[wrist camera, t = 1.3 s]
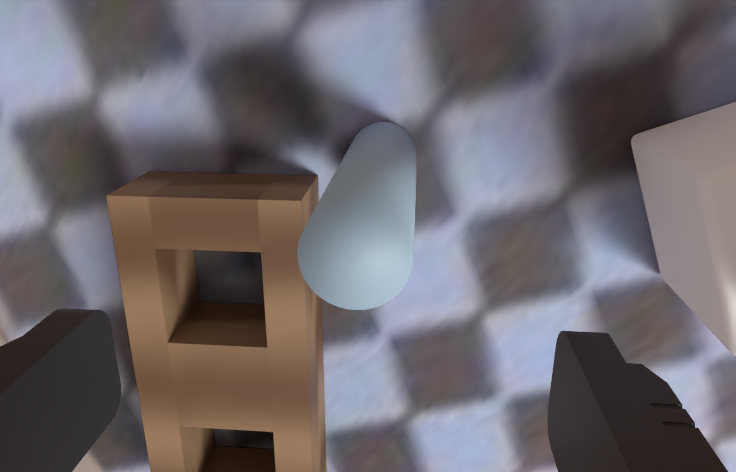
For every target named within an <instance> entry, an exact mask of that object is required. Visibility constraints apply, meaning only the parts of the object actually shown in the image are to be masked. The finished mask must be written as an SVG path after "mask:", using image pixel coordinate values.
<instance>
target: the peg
mask: <svg viewBox="0 0 736 472" xmlns="http://www.w3.org/2000/svg"><path fill="white" fill-rule="evenodd" d="M416 168H417V150H416V146H415V143H414V140H413V139H412V137H411V135H410V134H409V133H408V132H407V131H406V130H405V129H404V128H402V127H401V126H399V125H397V124H394V123H391V122H375V123H372V124H370V125H367V126H366V127H364V128H363V129H362V130H360V131H359V133H358V134H357V135H356V136H355V138H354V140H353V142H352V143H351V145H350V147H349V149H348V150H347V152H346V154H345V156H344V158H343V159H342V161H341V163H340V165H339V167H338V168H337V170H336V172H335V174H334V176H333V177H332V179H331V181H330V183H329V185H328V186H327V188H326V190H325V192H324V194H323V195H322V197H321V199H320V201H319V203H318V204H317V206H316V208H315V210H314V211H313V213H312V215H311V217H310V219H309V220H308V222H307V224H306V226H305V228H304V230H303V232H302V234H301V236H300V239H299V243H298V249H297V258H298V264H299V268H300V271H301V274H302V276H303V278H304V280H305V281H306V283H307V284H308V286H309V287H310V288H311V289H312V290H313V291H314V293H315V294H317V295H318V296H319V297H320V298H322V299H323V300H325V301H326V302H328V303H330V304H333V305H335V306H338V307H341V308H345V309H352V310H364V309H371V308H374V307H378V306H380V305H383V304H385V303H387V302H388V301H390V300H391V299H393V298H394V297H395V296H397V295H398V294H399V293H400V292H401V290H402V289H403V288H404V287H405V285H406V283H407V282H408V280H409V277H410V275H411V272H412V268H413V258H414V228H415V198H416Z"/></svg>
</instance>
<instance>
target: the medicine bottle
mask: <svg viewBox="0 0 736 472" xmlns="http://www.w3.org/2000/svg"><path fill="white" fill-rule="evenodd" d="M631 146H632V151H633V155H634V160H635V164H636V168H637V173H638V177H639V182H640V186H641V190H642V195H643V199H644V204H645V208H646V213H647V217H648V221H649V226H650V230H651V235H652V239H653V243H654V248H655V252H656V257H657V261H658V265H659V270H660V274H661V277H662V278H663V280H664V281H665V282H666V283H667V284H668V285H669V286H670V287H671V288H672V289H673V290H674V292H675V293H676V294H677V295H678V296H679V297H680V298H681V299H682V300H683V301H684V302H685V303H686V305H687V306H688V307H689V308H690V309H691V310H692V311H693V312H694V313H695V314H696V315H697V316H698V318H699V319H700V320H701V321H702V322H703V323H704V324H705V325H706V326H707V327H708V328H709V329H710V331H711V332H712V333H713V334H714V335H715V336H716V337H717V338H718V339H719V340H720V341H721V342H722V344H723V345H724V346H725V347H726V348H727V349H728V350H729V351H730V352H731V353H732V354H734V355H736V102H733V103H730V104H727V105H724V106H721V107H718V108H715V109H712V110H709V111H706V112H703V113H700V114H696V115H693V116H690V117H687V118H684V119H681V120H678V121H675V122H672V123H669V124H666V125H662V126H659V127H656V128H653V129H650V130H647V131H644V132H641V133H638V134H636V135H634V136H633V137H632V139H631Z"/></svg>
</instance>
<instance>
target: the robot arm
mask: <svg viewBox="0 0 736 472" xmlns="http://www.w3.org/2000/svg"><path fill="white" fill-rule="evenodd" d="M120 396H121V383H120V377H119V371H118V365H117V359H116V353H115V347H114V341H113V335H112V329H111V324H110V320H109V318H108V316H107V314H106V313H105V312H103V311H101V310H84V309H58V310H56V311H54V312H53V313H51V314H50V315H49V316H47V317H46V318H45V319H44V320H42V321H41V322H40V323H39V324H37V325H36V326H35V327H34V328H32V329H31V330H30V331H28V332H27V333H26V334H25V335H23V336H22V337H19V338H17V339H15V340H13V341H11V342H9V343H7V344H5V345H3V346H1V347H0V472H72V471H73V470H74V468H75V467H76V465H77V464H78V463H79V462H80V461H81V459H82V458H83V457H84V456H85V454H86V453H87V452H88V450H89V449H90V448H91V447H92V445H93V444H94V443H95V441H96V440H97V439H98V438H99V436H100V435H101V434H102V432H103V431H104V430H105V429H106V427H107V426H108V425H109V423H110V422H111V421H112V419H113V418H114V416H115V414H116V412H117V409H118V406H119V402H120ZM548 435H549V441H550V446H551V449H552V453H553V456H554V459H555V463H556V466H557V469H558V472H728V471H727V470H726V468H725V467H724V465H723V464H722V462H721V461H720V459H719V458H718V457H717V455H716V454H715V452H714V451H713V449H712V448H711V446H710V445H709V443H708V442H707V440H706V439H705V437H704V436H703V435H702V433H701V432H700V430H699V429H698V428H695V423H694V421H693V420H692V418H691V417H690V415H689V414H688V413H687V411H686V410H685V409H682V404H681V402H680V401H679V399H678V398H677V396H676V395H675V393H674V392H673V391H672V389H671V388H670V386H669V385H668V383H667V382H665V381H664V380H663V379H661V378H660V377H659V376H657V375H656V374H655V373H653V372H652V371H650V370H649V369H648V368H646V367H645V366H644V365H642V364H632V363H626V362H625V360H624V358H623V357H622V355H621V353H620V352H619V350H618V348H617V347H616V345H615V343H614V342H613V340H612V338H611V337H610V335H609V334H607V333H598V332H575V331H561V332H560V333H559V335H558V338H557V343H556V350H555V358H554V366H553V373H552V381H551V389H550V397H549V405H548Z"/></svg>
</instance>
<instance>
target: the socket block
mask: <svg viewBox="0 0 736 472" xmlns="http://www.w3.org/2000/svg"><path fill="white" fill-rule="evenodd" d="M106 198H107V204H108V210H109V216H110V222H111V229H112V235H113V241H114V247H115V253H116V260H117V266H118V272H119V278H120V284H121V291H122V297H123V303H124V309H125V315H126V321H127V328H128V334H129V340H130V346H131V352H132V359H133V365H134V371H135V377H136V383H137V390H138V396H139V402H140V408H141V414H142V421H143V427H144V433H145V439H146V445H147V451H148V458H149V464H150V470H151V472H326V438H325V404H324V370H323V336H322V302H321V298H320V297H319V296H318V295H317V294H315V293H314V291H313V290H312V289H311V288H310V287H309V286H308V284H307V283H306V281H305V280H304V278H303V276H302V274H301V271H300V268H299V264H298V258H297V249H298V243H299V239H300V236H301V234H302V232H303V230H304V228H305V226H306V224H307V222H308V220H309V219H310V217H311V215H312V213H313V211H314V210H315V208H316V206H317V204H318V203H319V200H318V175H279V174H236V173H193V172H150V171H149V172H147V173H146V174H144V175H142V176H140V177H138V178H137V179H135V180H133V181H131V182H130V183H128V184H126V185H124V186H122V187H121V188H119V189H117V190H115V191H114V192H112V193H110V194H108V195H106ZM194 250H209V251H238V252H261V260H262V275H263V290H264V305H259V304H235V303H211V302H200V300H199V291H198V282H197V273H196V264H195V255H194ZM214 429H231V430H248V431H265V432H273V438H274V449H258V448H241V447H225V446H216V445H215V436H214Z"/></svg>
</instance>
